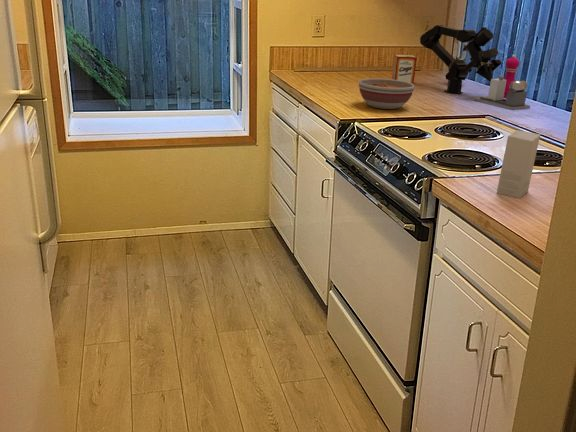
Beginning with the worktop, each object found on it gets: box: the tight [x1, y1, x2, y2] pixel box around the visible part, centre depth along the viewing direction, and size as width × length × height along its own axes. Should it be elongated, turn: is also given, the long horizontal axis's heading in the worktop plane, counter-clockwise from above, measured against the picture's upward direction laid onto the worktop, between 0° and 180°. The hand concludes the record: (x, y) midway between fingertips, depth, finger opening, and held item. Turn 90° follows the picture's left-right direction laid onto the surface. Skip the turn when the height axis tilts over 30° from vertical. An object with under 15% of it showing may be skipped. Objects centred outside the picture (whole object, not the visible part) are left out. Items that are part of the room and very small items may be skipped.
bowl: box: [358, 78, 415, 110], centre depth 258 cm, size 23×23×10 cm
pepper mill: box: [503, 54, 520, 99], centre depth 295 cm, size 7×7×20 cm
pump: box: [487, 74, 506, 100], centre depth 280 cm, size 4×6×11 cm
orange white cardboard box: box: [391, 54, 418, 85], centre depth 303 cm, size 10×6×16 cm
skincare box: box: [496, 129, 541, 199], centre depth 159 cm, size 8×7×16 cm
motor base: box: [472, 80, 531, 111], centre depth 278 cm, size 22×12×12 cm, turn 32°
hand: (491, 80), depth 282 cm, fingers closed
